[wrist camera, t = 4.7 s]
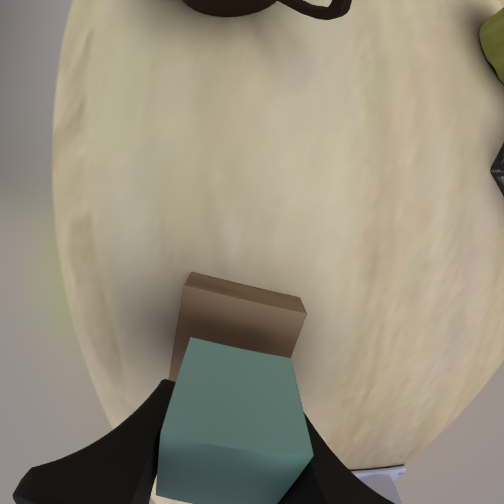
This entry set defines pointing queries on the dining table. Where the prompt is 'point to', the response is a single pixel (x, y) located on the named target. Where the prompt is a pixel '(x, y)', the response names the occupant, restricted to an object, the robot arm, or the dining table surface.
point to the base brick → (236, 318)
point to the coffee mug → (244, 3)
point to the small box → (499, 169)
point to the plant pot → (494, 42)
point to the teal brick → (232, 428)
